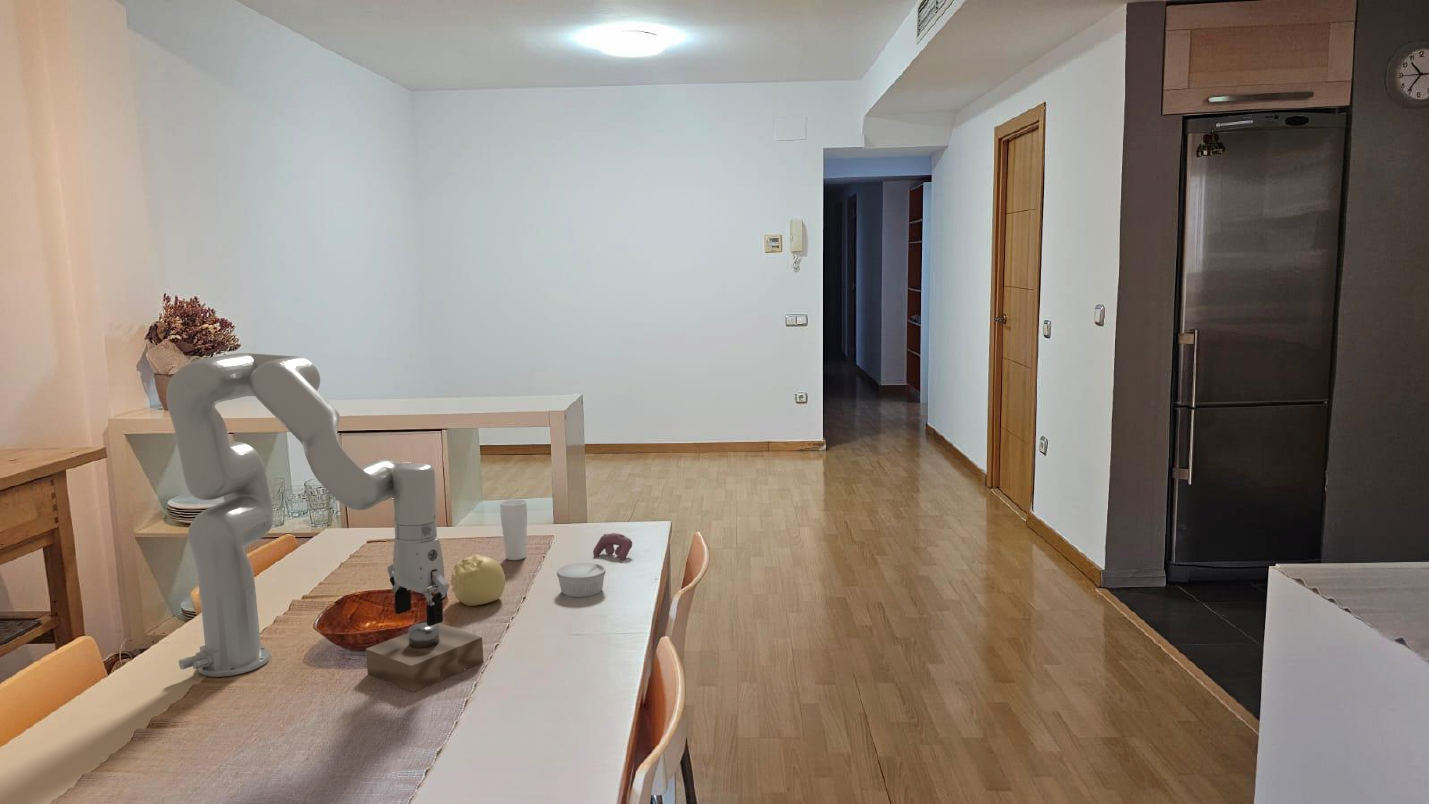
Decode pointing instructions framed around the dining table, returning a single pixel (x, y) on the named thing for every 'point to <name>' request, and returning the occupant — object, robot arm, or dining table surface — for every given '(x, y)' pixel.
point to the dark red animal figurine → (608, 544)
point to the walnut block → (424, 659)
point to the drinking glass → (514, 528)
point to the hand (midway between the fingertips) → (418, 617)
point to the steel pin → (423, 635)
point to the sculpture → (477, 580)
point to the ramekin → (581, 579)
